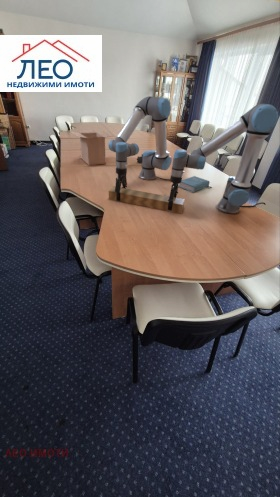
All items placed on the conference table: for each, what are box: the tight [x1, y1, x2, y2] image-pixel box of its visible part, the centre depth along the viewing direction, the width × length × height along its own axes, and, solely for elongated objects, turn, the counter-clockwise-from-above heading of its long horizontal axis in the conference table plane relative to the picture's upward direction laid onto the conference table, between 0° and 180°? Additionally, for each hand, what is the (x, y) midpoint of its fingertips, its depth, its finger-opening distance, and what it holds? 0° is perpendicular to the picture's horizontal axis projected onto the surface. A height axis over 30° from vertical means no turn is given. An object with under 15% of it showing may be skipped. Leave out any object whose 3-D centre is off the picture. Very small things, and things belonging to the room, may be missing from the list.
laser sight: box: [136, 153, 143, 164], centre depth 239 cm, size 10×22×10 cm, turn 78°
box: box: [70, 129, 114, 166], centre depth 229 cm, size 44×36×27 cm
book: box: [178, 175, 211, 193], centre depth 191 cm, size 23×16×5 cm
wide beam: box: [108, 185, 186, 214], centre depth 158 cm, size 54×10×6 cm, turn 72°
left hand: (121, 198), depth 164 cm, fingers closed on wide beam, 10 cm apart
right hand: (171, 206), depth 154 cm, fingers open, 13 cm apart
